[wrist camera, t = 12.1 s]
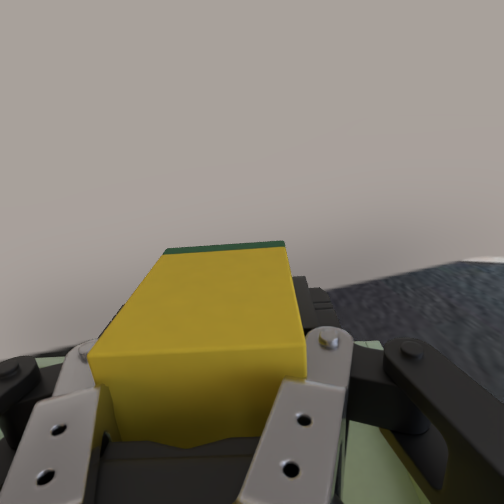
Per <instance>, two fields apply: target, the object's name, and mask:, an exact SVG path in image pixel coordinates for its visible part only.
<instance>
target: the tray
mask: <svg viewBox="0 0 504 504" xmlns="http://www.w3.org/2000/svg"><path fill="white" fill-rule="evenodd" d="M354 343H355V344H358V345H360V346H363V347H367V348H373V349H379V350H384V349H383V348H382V346H381V344H380V342H379V341H366V342H364V341H359V342H354ZM35 359H36V362H37V364H38V367H39V368H43V367H47V366H51V365H55V364H59V363H63V362H64V359H65V357H50V358H35ZM3 437H4V435H3V433H2V431H1V429H0V440H1V439H2V438H3ZM342 502H343V503H344V504H431V503H430V502H429V500H428V499H427V498H426V496H425V495H424V493H423V492H422V490H421V489H420V488H419V486H418V485H417V483H416V482H415V481H414V479H413V478H412V476H411V475H410V473H409V472H408V471H407V469H406V468H405V466H404V465H403V463H402V462H401V461H400V459H399V458H398V456H397V455H396V454H395V452H394V451H393V449H392V448H391V446H390V445H389V444H388V442H387V441H386V439H385V438H384V437H383V435H382V434H381V432H380V430H379V427H375V426H371V425H367V424H363V423H359V422H355V421H351V420H350V427H349V436H348V445H347V454H346V463H345V473H344V487H343V500H342Z"/></svg>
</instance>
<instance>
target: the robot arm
mask: <svg viewBox="0 0 504 504" xmlns="http://www.w3.org/2000/svg"><path fill="white" fill-rule="evenodd" d="M292 280H293V285H294V289H295V294H296V299H297V303H298V308H299V313H300V318H301V322H302V327H303V332H304V336H305V341H306V352H307V376H306V377H305V378H299V377H294V376H289V375H285V376H284V378H283V380H282V383H281V385H280V388H279V391H278V393H277V396H276V399H275V401H274V404H273V406H272V409H271V412H270V414H269V417H268V420H267V422H266V425H265V427H264V430H263V433H262V435H261V436H255V437H230V438H226V439H222V440H219V441H215V442H211V443H207V444H204V445H200V446H196V447H193V448H188V449H184V448H179V447H174V446H170V445H165V444H161V443H157V442H152V441H122V439H121V436H120V432H119V429H118V426H117V422H116V419H115V415H114V407H113V400H112V397H111V394H110V390H109V387H106V386H105V384H99V385H95V382H94V379H93V376H92V373H91V369H90V366H89V363H88V360H87V354H88V353H89V351H90V350H91V349H92V347H93V346H94V345H95V343H96V342H97V341H98V339H99V338H100V337H101V335H102V334H103V333H104V331H105V330H106V329H107V327H108V326H109V325H110V323H111V322H112V321H113V319H114V318H115V317H116V315H115V316H114V317H113V319H112V321H110V323H109V324H108V325H107V327H106V328H105V329H104V331H103V332H102V333H101V334H100V336H99V337H98V338H97V339H92V340H88V341H86V342H83V343H81V344H79V345H77V346H76V347H74V348H73V349H71V350H70V351H69V352H68V353H67V355H66V356H65V359H64V362H63V363H59V364H55V365H51V366H47V367H43V368H39V367H38V364H37V362H36V359H35V358H34V357H32V356H19V357H14V358H11V359H8V360H6V361H3V362H1V363H0V429H1V431H2V433H3V435H4V437H3V438H2V439H1V440H0V504H344V503H343V502H342V500H343V487H344V473H345V463H346V454H347V445H348V436H349V427H350V420H351V421H355V422H359V423H363V424H367V425H371V426H375V427H379V430H380V432H381V434H382V435H383V437H384V438H385V439H386V441H387V442H388V444H389V445H390V446H391V448H392V449H393V451H394V452H395V454H396V455H397V456H398V458H399V459H400V461H401V462H402V463H403V465H404V466H405V468H406V469H407V471H408V472H409V473H410V475H411V476H412V478H413V479H414V481H415V482H416V483H417V485H418V486H419V488H420V489H421V490H422V492H423V493H424V495H425V496H426V498H427V499H428V500H429V502H430V503H431V504H504V404H503V403H501V402H500V401H499V400H498V399H496V398H495V397H494V396H493V395H492V394H490V393H489V392H488V391H487V390H485V389H484V388H483V387H482V386H480V385H479V384H478V383H477V382H476V381H474V380H473V379H472V378H471V377H469V376H468V375H467V374H466V373H464V372H463V371H462V370H461V369H460V368H458V367H457V366H456V365H455V364H453V363H452V362H451V361H450V360H448V359H447V358H446V357H445V356H444V355H442V354H441V353H440V352H439V351H437V350H436V349H435V348H434V347H432V346H431V345H429V344H428V343H426V342H423V341H421V340H418V339H414V338H407V337H399V338H394V339H391V340H389V341H388V342H387V343H386V344H385V346H384V350H379V349H373V348H367V347H363V346H360V345H358V344H355V343H354V341H353V338H352V336H351V335H350V334H349V333H348V332H346V331H344V330H342V328H341V325H340V323H339V320H338V318H337V315H336V313H335V310H334V309H333V306H332V303H331V301H330V298H329V296H328V293H326V292H325V291H324V290H322V289H321V288H320V287H319V288H308V284H307V281H306V277H305V276H297V277H292ZM124 305H125V304H124ZM124 305H122V307H123V306H124ZM122 307H121V308H120V309H119V311H120V310H121V309H122ZM119 311H118V312H117V314H118V313H119Z"/></svg>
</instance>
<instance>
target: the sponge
mask: <svg viewBox="0 0 504 504" xmlns="http://www.w3.org/2000/svg"><path fill="white" fill-rule="evenodd" d="M87 360H88V363H89V366H90V369H91V373H92V376H93V379H94V382H95V385H99V384H105V386H106V387H109V390H110V394H111V397H112V400H113V407H114V415H115V419H116V422H117V426H118V429H119V432H120V436H121V439H122V441H152V442H157V443H161V444H165V445H170V446H174V447H179V448H184V449H188V448H193V447H196V446H200V445H204V444H207V443H211V442H215V441H219V440H222V439H226V438H230V437H255V436H261V435H262V433H263V430H264V427H265V425H266V422H267V420H268V417H269V414H270V412H271V409H272V406H273V404H274V401H275V399H276V396H277V393H278V391H279V388H280V385H281V383H282V380H283V378H284V376H285V375H289V376H294V377H299V378H305V377H306V376H307V352H306V341H305V336H304V332H303V327H302V322H301V318H300V313H299V308H298V303H297V299H296V294H295V289H294V285H293V280H292V275H291V271H290V266H289V262H288V257H287V252H286V248H285V243H284V241H270V242H256V243H240V244H225V245H210V246H196V247H181V248H168V249H166V250H165V252H164V253H163V255H162V256H161V257H160V258H159V260H158V261H157V262H156V264H155V265H154V266H153V268H152V269H151V270H150V272H149V273H148V274H147V276H146V277H145V278H144V280H143V281H142V282H141V283H140V285H139V286H138V287H137V289H136V290H135V291H134V293H133V294H132V296H131V297H130V298H129V299H128V301H127V302H126V303H125V305H124V306H123V307H122V309H121V310H120V311H119V313H118V314H117V315H116V317H115V318H114V319H113V321H112V322H111V323H110V325H109V326H108V327H107V329H106V330H105V331H104V333H103V334H102V335H101V337H100V338H99V339H98V341H97V342H96V343H95V345H94V346H93V347H92V349H91V350H90V351H89V353H88V354H87Z"/></svg>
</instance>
